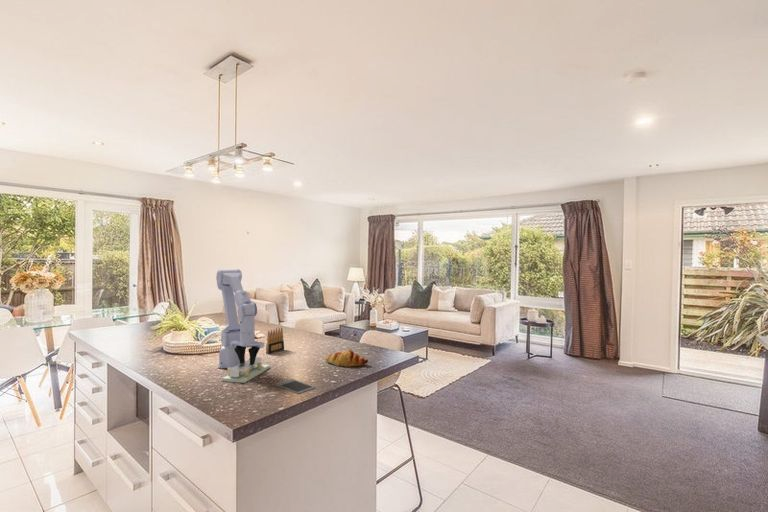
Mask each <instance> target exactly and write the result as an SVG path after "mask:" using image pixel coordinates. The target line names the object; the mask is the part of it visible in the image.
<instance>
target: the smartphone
mask: <svg viewBox="0 0 768 512" xmlns="http://www.w3.org/2000/svg"><path fill="white" fill-rule="evenodd" d="M274 386H276V387H279V388H281V389H284V390H286V391H290V392H292V393H295V394H297V395H300V394H304V393H306V392H309V391H312V390H315V389H316V386H313V385H311V384H308V383H305V382H302V381H300V380H296V379H294V378H290V379H286V380H284V381H280V382H276V383H275V384H274ZM311 389H312V390H311Z"/></svg>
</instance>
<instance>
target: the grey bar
mask: <svg viewBox="0 0 768 512" xmlns="http://www.w3.org/2000/svg"><path fill="white" fill-rule="evenodd" d="M262 360H263V359H262V357H259V356H256V359H255V363H254V364H253V365H250V358H249V359H247V360H245V362H243V363H241V364H239V365H237V366H235V367H233V368H231V369H230V377H240V376H242V375H244V374H245V369H249V371H251V370H253V369H255V368H256V367H258V362H262Z"/></svg>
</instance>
